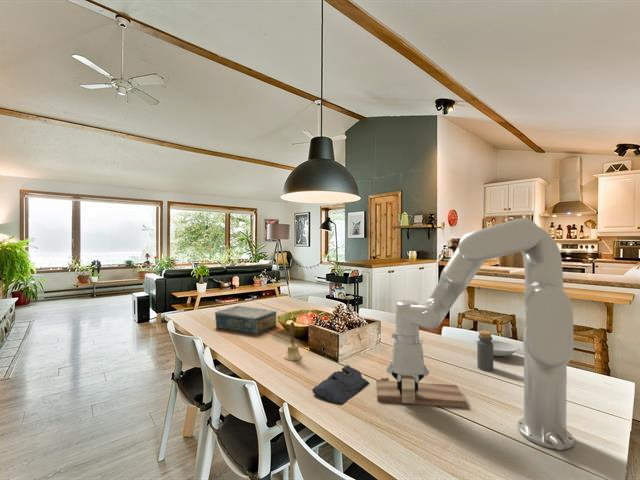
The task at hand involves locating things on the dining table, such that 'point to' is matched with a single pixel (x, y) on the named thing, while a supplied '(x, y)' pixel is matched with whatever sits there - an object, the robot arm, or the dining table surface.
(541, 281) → the robot arm
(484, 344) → the bottle
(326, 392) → the dark slate chunk
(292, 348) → the hand bell
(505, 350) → the dish
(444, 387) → the walnut board
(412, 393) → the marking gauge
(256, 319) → the metal box
